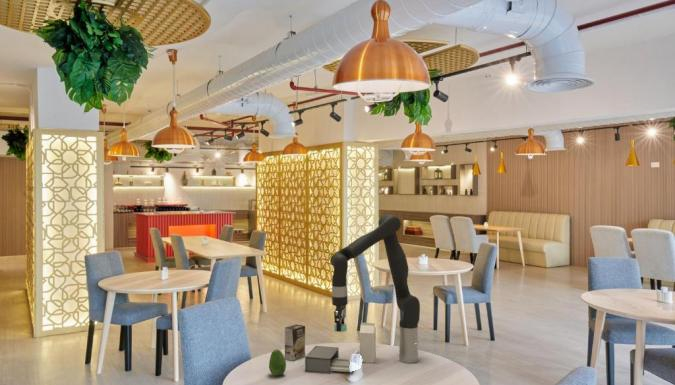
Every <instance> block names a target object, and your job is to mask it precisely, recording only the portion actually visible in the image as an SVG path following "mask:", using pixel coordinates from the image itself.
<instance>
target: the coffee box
mask: <svg viewBox="0 0 675 385" xmlns="http://www.w3.org/2000/svg"><path fill="white" fill-rule="evenodd" d="M305 357H306V326H305V325H303V324H294V325H293V324H292V325H290V326H286V327H284V359H285V360H286V361H287V360H288V361H292V362H295V361H297V360H300V359H303V358H305Z"/></svg>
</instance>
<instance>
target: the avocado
mask: <svg viewBox="0 0 675 385" xmlns="http://www.w3.org/2000/svg"><path fill="white" fill-rule="evenodd" d="M269 357H270V358H269V361H268V369H269V372H270V373H271V374H272V375H273V376H277V377H278V376H282V375H284V373H285V372H286V368H287V362H286V361H287V360H286V359H285V355H284V354H283V353H282V351H281V350H279V349H274V350H273V351H271V354H270V356H269Z"/></svg>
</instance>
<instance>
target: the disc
mask: <svg viewBox="0 0 675 385" xmlns="http://www.w3.org/2000/svg"><path fill="white" fill-rule="evenodd" d="M333 328H334V329H333V330H334V332H338V333H343V332H346V331H347V330H348V328H347V324H346V323H344V324H341V331H336V323H334V325H333Z"/></svg>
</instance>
